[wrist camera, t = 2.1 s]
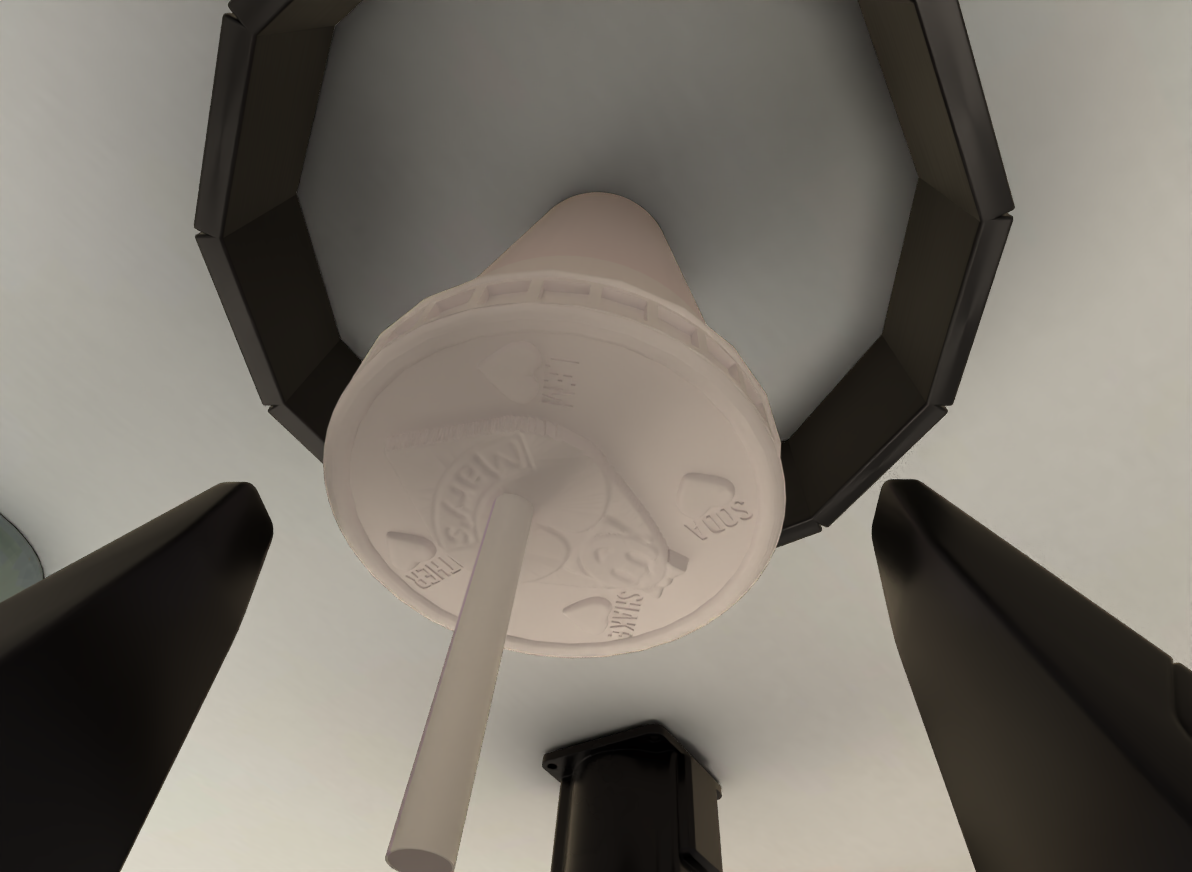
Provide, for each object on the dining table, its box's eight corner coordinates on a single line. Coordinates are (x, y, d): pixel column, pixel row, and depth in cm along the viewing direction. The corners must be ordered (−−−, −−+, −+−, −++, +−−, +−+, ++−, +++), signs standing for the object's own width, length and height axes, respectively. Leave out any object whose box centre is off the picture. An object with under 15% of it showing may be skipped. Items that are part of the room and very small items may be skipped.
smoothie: (547, 72, 14) (119, 438, 3) (777, 225, 16) (1111, 865, 4) (438, 302, 18) (43, 897, 6) (636, 409, 19) (615, 1043, 8)
